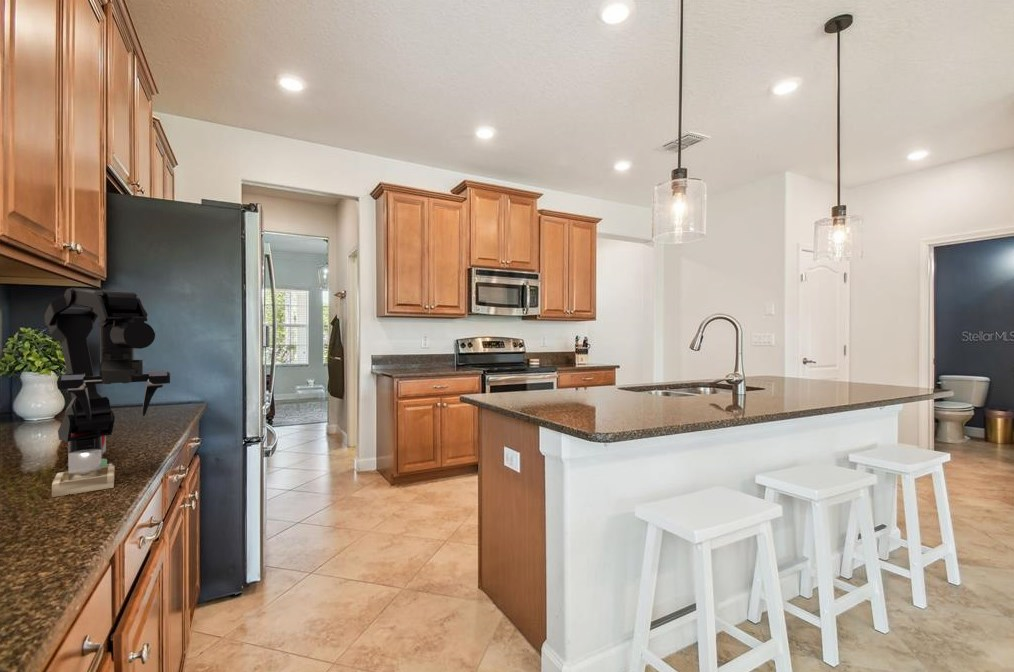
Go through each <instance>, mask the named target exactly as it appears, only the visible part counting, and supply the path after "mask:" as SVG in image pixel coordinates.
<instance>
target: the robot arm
mask: <svg viewBox="0 0 1014 672" xmlns="http://www.w3.org/2000/svg"><path fill="white" fill-rule="evenodd" d="M73 305H75V306H81V307H71V306H73ZM97 319H99V320H100V321H99V322H98V323H97V325H98V327H99V336H100V337H99V345H100V347H99V348H100V349H99V350H100V351H99V353H100V354H99V361H100V362H99V363H100V364H99V367H98V370H99V371H98V373H99V375H95V374H94V369H93V363H92V357H91V353H90V348H89V347H90V346H89V343H88V336H89V335H90V334H91V332H92V331H93V329H94V324H95V322H96V320H97ZM147 321H148V313H147V311H146V309H145V307H144V306H143V304H142V302H141V299H140V297H138V294H136V292H135V291H134V292H133V291H120V290H105V289H102V290H101V289H100V290H94V289H92V288H83V287H81V288H78V287H71V288H67V289H66V290H65V292H64V294H63V295H62V296H60V297H58V298H56V299H54V300H52V301H51V302H50V303H49V304H48V307H47V309H46V310H45V313H44V323H45V326H47V327H48V331H49V335H50V336H51V337H53V338H54V339H55V340H56V341H57V342H59V343H60V345H61V349H62V354H63V359H64V365H65V369H66V370H65V371H66V373H64V374H62V375H60V376H59V377H58V378H57V390H66V393H68V394H69V393H70V396H71V400H70V402H69V403H68V406H67V407H66V409H65V411H64V417H63V420H62V421H61V423H60V426H59V428H58V430H57V434H58V440H59V441H62V442H66V443H68V442H70V453H71V452H75V451H80V450H87V449H101V459H105V455H102V436H106V437H107V436H111V435H112V434H113V429H114V424H115V420H116V419H115V417H116V416H115V414H114V411H113V410H112V409H111V403H110V398H109V397H107V396H102V395H100V393H98V388H97V385H100V384H101V385H111V384H120V383H121V384H129V383H142V382H147V383H146V384H145V390H144V396H143V404H142V416H146V413H147V411H148V408H149V406H150V403H151V400H152V398H153V396H154V395H155V393H156V391H157V390H158V388H163V387H164V384H171V373H170V372H169V371H168V370H166V369H156V370H155V369H154V370H151V369H150V370H147V373H143V370H144V369H143V361H144V360H143V359H135V356H134V355H135V350H136V349H145V348H147V347H149V346H151V345H152V344H153V343H154V341H155V339H156V332H155V330H154V328H153V327H152V326H151V325H150V324H149V323H147ZM71 433H72V434H74V435H71ZM65 468H68V462H66V465H65Z"/></svg>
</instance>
